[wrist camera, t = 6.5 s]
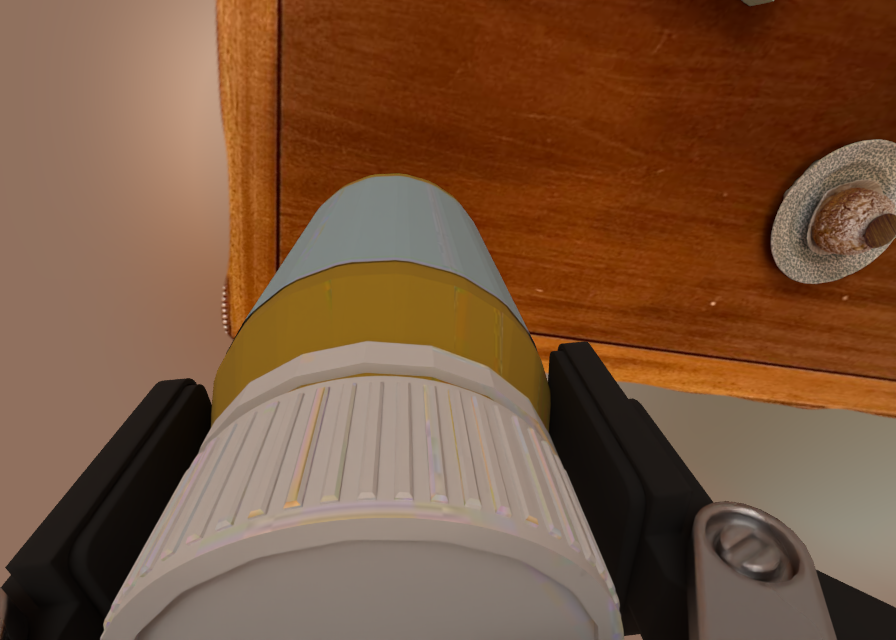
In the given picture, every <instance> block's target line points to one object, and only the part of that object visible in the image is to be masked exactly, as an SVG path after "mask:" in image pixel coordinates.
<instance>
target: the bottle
mask: <svg viewBox="0 0 896 640" xmlns="http://www.w3.org/2000/svg"><path fill="white" fill-rule="evenodd" d="M550 409H551V395H550V388H549V385H548V381H547V378H546V375H545V371H544V368H543V364H542V361H541V359H540V357H539V355H538V353H537V349H536V346H535V343H534V341H533V339H532V337H531V335H530V333H529V331H528V329H527V327H526V325H525V323H524V321H523V319H522V317H521V315H520V313H519V311H518V309H517V307H516V306H515V304H514V302H513V300H512V298H511V296H510V294H509V292H508V290H507V288H506V286H505V284H504V282H503V280H502V278H501V276H500V274H499V272H498V270H497V268H496V266H495V264H494V262H493V260H492V258H491V256H490V254H489V252H488V250H487V248H486V246H485V244H484V242H483V240H482V238H481V236H480V234H479V232H478V230H477V228H476V226H475V224H474V222H473V221H472V219H471V218H470V217H469V215H468V214H467V213H466V211H465V210H464V209H463V207H462V206H461V205H460V203H459V202H458V201H457V200H456V199H455V198H454V197H453V196H452V195H450V194H449V193H447V192H446V191H444V190H443V189H442V188H440V187H439V186H437V185H436V184H434V183H432V182H430V181H428V180H424V179H421V178H417V177H414V176H410V175H407V174H399V173H397V174H376V175H371V176H367V177H365V178H362V179H359V180H357V181H354V182H352V183H349V184H347V185H345V186H344V187H342V188H341V189H340V190H338V191H337V192H336V193H335V194H334V195H333V196H331V197H330V198H329V199H328V200H327V201H326V202H325V203H324V204H323V205H322V206H321V207H320V208H319V209H318V211H317V212H316V213H315V215H314V217H313V218H312V220H311V221H310V223H309V224H308V226H307V227H306V229H305V230H304V232H303V233H302V235H301V236H300V238H299V239H298V241H297V242H296V244H295V245H294V247H293V248H292V250H291V251H290V253H289V254H288V256H287V257H286V259H285V260H284V262H283V263H282V265H281V266H280V268H279V269H278V271H277V272H276V274H275V275H274V277H273V278H272V280H271V282H270V283H269V285H268V286H267V288H266V289H265V291H264V292H263V294H262V295H261V297H260V298H259V300H258V301H257V303H256V304H255V306H254V307H253V309H252V310H251V312H250V313H249V315H248V316H247V318H246V319H245V321H244V322H243V324H242V326H241V328H240V330H239V331H238V333H237V335H236V337H235V339H234V340H233V342H232V344H231V346H230V347H229V350H228V351H227V353H226V356H225V358H224V359H223V361H222V363H221V365H220V367H219V368H218V370H217V374H216V377H215V380H214V387H213V400H212V410H211V429H210V431H209V433H208V434H207V436H206V438H205V440H204V442H203V444H202V445H201V447H200V450H199V453H198V455H197V456H196V458H195V459H194V460H193V462H192V464H191V466H190V468H189V469H188V470H186V472H185V474H184V476H183V477H182V479H181V481H180V483H179V485H178V486H177V488H176V490H175V492H174V494H173V495H172V497H171V499H170V501H169V503H168V504H167V506H166V508H165V510H164V512H163V513H162V515H161V517H160V519H159V521H158V522H157V524H156V526H155V528H154V530H153V531H152V533H151V535H150V537H149V539H148V540H147V542H146V544H145V546H144V548H143V549H142V551H141V553H140V555H139V557H138V558H137V560H136V562H135V564H134V566H133V567H132V569H131V571H130V573H129V575H128V576H127V578H126V580H125V582H124V584H123V585H122V587H121V589H120V591H119V592H118V594H117V596H116V598H115V600H114V601H113V603H112V605H111V609H110V611H109V613H108V615H107V616H106V618H105V620H104V624H103V626H104V632H103V634H102V635H101V637H100V640H624V630H623V625H622V621H621V614H620V612H619V608H620V602H619V599H618V596H617V594H616V592H615V587H614V584H613V582H612V579H611V577H610V575H609V572H608V570H607V567H606V565H605V563H604V560H603V558H602V556H601V553H600V551H599V548H598V546H597V544H596V541H595V539H594V536H593V534H592V532H591V529H590V527H589V525H588V522H587V520H586V517H585V515H584V513H583V510H582V508H581V505H580V503H579V501H578V498H577V496H576V493H575V491H574V489H573V486H572V484H571V482H570V479H569V477H568V474H567V472H566V470H564V468H563V465H562V463H561V460H560V458H559V456H558V454H557V451H556V449H555V446H554V444H553V442H552V439H551V437H550V435H549V422H550Z"/></svg>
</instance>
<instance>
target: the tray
mask: <svg viewBox="0 0 896 640" xmlns="http://www.w3.org/2000/svg"><path fill="white" fill-rule="evenodd" d="M742 1H743V2H744V3H746V4H747V5H749V6H753V5H759V4H763V3H768V2H772V1H774V0H742Z"/></svg>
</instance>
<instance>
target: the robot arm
mask: <svg viewBox="0 0 896 640" xmlns="http://www.w3.org/2000/svg"><path fill="white" fill-rule="evenodd" d="M548 385H549V388H550V395H551V409H550V422H549V435H550V437H551V439H552V442H553V444H554V446H555V449H556V451H557V454H558V456H559V458H560V460H561V463H562V465H563V468H564V470H566V472H567V474H568V477H569V479H570V482H571V484H572V486H573V489H574V491H575V493H576V496H577V498H578V501H579V503H580V505H581V508H582V510H583V513H584V515H585V517H586V520H587V522H588V525H589V527H590V529H591V532H592V534H593V536H594V539H595V541H596V544H597V546H598V548H599V551H600V553H601V556H602V558H603V560H604V563H605V565H606V567H607V570H608V572H609V575H610V577H611V579H612V582H613V584H614V587H615V592H616V594H617V596H618V599H619V602H620V608H619V612H620V614H621V621H622V625H623V630H624V636H627V635H636V634H641V636H642V639H643V640H896V608H895V607H893V606H891V605H889V604H887V603H885V602H883V601H881V600H878V599H876V598H874V597H872V596H870V595H868V594H866V593H864V592H862V591H860V590H858V589H855V588H853V587H851V586H849V585H847V584H845V583H843V582H841V581H839V580H837V579H834V578H832V577H830V576H828V575H826V574H824V573H822V572H820V571H818V570H816V569H815V566H814V563H813V560H812V558H811V556H810V554H809V552H808V550H807V548H806V546H805V544H804V543H803V542H802V541H801V540H800V539H799V537H798V536H797V535H796V534H795V533H794V532H793V531H792V530H791V529H790V528H788V527H787V526H786V525H785V524H784V523H782V522H781V521H780V520H778V519H777V518H775V517H773V516H771V515H770V514H768V513H766V512H764V511H762V510H760V509H758V508H754V507H752V506H749V505H746V504H742V503H736V502H729V501H724V502H715V503H713V501H712V500H711V499H710V497H709V496H708V494H707V493H706V492H705V490H704V489H703V488H702V486H701V485H700V484H699V482H698V481H697V480H696V478H695V477H694V475H693V474H692V473H691V471H690V470H689V469H688V467H687V466H686V465H685V463H684V462H683V460H682V459H681V458H680V457H679V455H678V454H677V452H676V451H675V450H674V448H673V447H672V446H671V444H670V443H669V442H668V440H667V439H666V437H665V436H664V435H663V433H662V432H661V431H660V429H659V428H658V426H657V425H656V424H655V423H654V421H653V420H652V418H651V417H650V415H649V414H648V413H647V411H646V410H645V409H644V407H643V406H642V405H641V404H640V403H639V402H638V401H637V400H635V399H628V398H627V396H626V395H625V394H624V392H623V391H622V389H621V388H620V387H619V385H618V384H617V382H616V381H615V379H614V378H613V377H612V375H611V374H610V372H609V371H608V370H607V368H606V367H605V365H604V364H603V362H602V361H601V360H600V358H599V357H598V355H597V354H596V353H595V351H594V350H593V348H592V347H591V345H590V344H589V343H588V342H576V343H565V344H560V345H559V347H558V351H552V352H551V353H550V359H549V375H548ZM211 410H212V405H211V402H210V399H209V397H208V394H207V391H206V389H205V387H204V386H203V385H200V384H198V385H197V384H196V382H195V381H194V380H193V379H190V378H187V379H176V380H165V381H160V382H158V383H157V384H156V385H155V386H154V387H153V388H152V390H151V391H150V392H149V393H148V394H147V396H146V397H145V398H144V399H143V400H142V402H141V403H140V404H139V405H138V407H137V408H136V409H135V410H134V411H133V413H132V414H131V415H130V416H129V417H128V419H127V420H126V421H125V422H124V423H123V425H122V426H121V427H120V428H119V430H118V431H117V432H116V433H115V434H114V436H113V437H112V438H111V439H110V441H109V442H108V443H107V444H106V445H105V447H104V448H103V449H102V450H101V452H100V453H99V454H98V455H97V456H96V458H95V459H94V460H93V461H92V462H91V464H90V465H89V466H88V467H87V469H86V470H85V471H84V472H83V474H82V475H81V476H80V477H79V478H78V480H77V481H76V482H75V483H74V484H73V486H72V487H71V488H70V489H69V491H68V492H67V493H66V494H65V495H64V497H63V498H62V499H61V500H60V501H59V503H58V504H57V505H56V506H55V508H54V509H53V510H52V511H51V513H50V514H49V515H48V516H47V517H46V519H45V520H44V521H43V522H42V523H41V525H40V526H39V527H38V528H37V530H36V531H35V532H34V533H33V534H32V536H31V537H30V538H29V539H28V540H27V542H26V543H25V544H24V545H23V547H22V548H21V549H20V550H19V551H18V553H17V554H16V555H15V556H14V558H13V559H12V560H11V561H10V562H9V564H8V565H7V566H6V567H5V568H6V569H7V570H8V571H9V573H10V574H11V576H10V577H9V578H8V579H7V581H6V582H5V583H4V584H3V586H2V587H1V588H0V640H100V637H101V635H102V634H103V632H104V626H103V624H104V620H105V618H106V616H107V615H108V613H109V611H110V609H111V605H112V603H113V601H114V600H115V598H116V596H117V594H118V592H119V591H120V589H121V587H122V585H123V584H124V582H125V580H126V578H127V576H128V575H129V573H130V571H131V569H132V567H133V566H134V564H135V562H136V560H137V558H138V557H139V555H140V553H141V551H142V549H143V548H144V546H145V544H146V542H147V540H148V539H149V537H150V535H151V533H152V531H153V530H154V528H155V526H156V524H157V522H158V521H159V519H160V517H161V515H162V513H163V512H164V510H165V508H166V506H167V504H168V503H169V501H170V499H171V497H172V495H173V494H174V492H175V490H176V488H177V486H178V485H179V483H180V481H181V479H182V477H183V476H184V474H185V472H186V470H188V469H189V468H190V466H191V464H192V462H193V460H194V459H195V458H196V456H197V455H198V453H199V450H200V447H201V445H202V444H203V442H204V440H205V438H206V436H207V434H208V433H209V431H210V429H211Z"/></svg>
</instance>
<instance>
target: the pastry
mask: <svg viewBox="0 0 896 640" xmlns="http://www.w3.org/2000/svg"><path fill="white" fill-rule="evenodd" d="M793 184H794V185H793V186H791V188H790V189H788V190H787V191H786V192H785V194H784V196H783V198H784V200H783V202H782V204H781V205H780V208H779V210H778V212H777V215H776V217H775V220H774V223H773V227H772V232H771V251H772V256H773V258H774V260H775V263H776V265H777V266H778V268H779V269H780V270H781V271H782V272H783V273H784V274H785V275H787V276H788V277H789V278H791V279H792V280H795V281H798V282H801V283H807V284H819V283H824V282H830V281H835V280H838V279H841V278H843V277H845V276H847V275H850V274H852V273H854V272H856V271H858V270H860V269H862V268H863V267H865V266H867V265H868V264H869V263H871V262H872V261H873V260H874V259H876V258H877V257H878V256H879V255H880V254H881V253H882V252H883V251H884V250H885V249H886V248H887V247H888V246H889V244H890V243H891V242H892V241H893V240H894V238H895V237H896V143H894V142H890V141H886V140H881V139H878V140H865V141H864V140H863V141H860V142H856V143H852V144H849V145H847V146H844V147H842V148H840V149H837V150H836V151H834V152H832V153H830V154H828V155H827V156H825V157H824V158H822V159H821V160H816V161H815V162H814V163H813V164H812V165H811V166H810V167H809V168H808V169H807V170H806V171H805V172H804V174H803V175H802V176H801V177H800V178H798V179H797V180H796V181H795V182H794V183H793Z"/></svg>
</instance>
